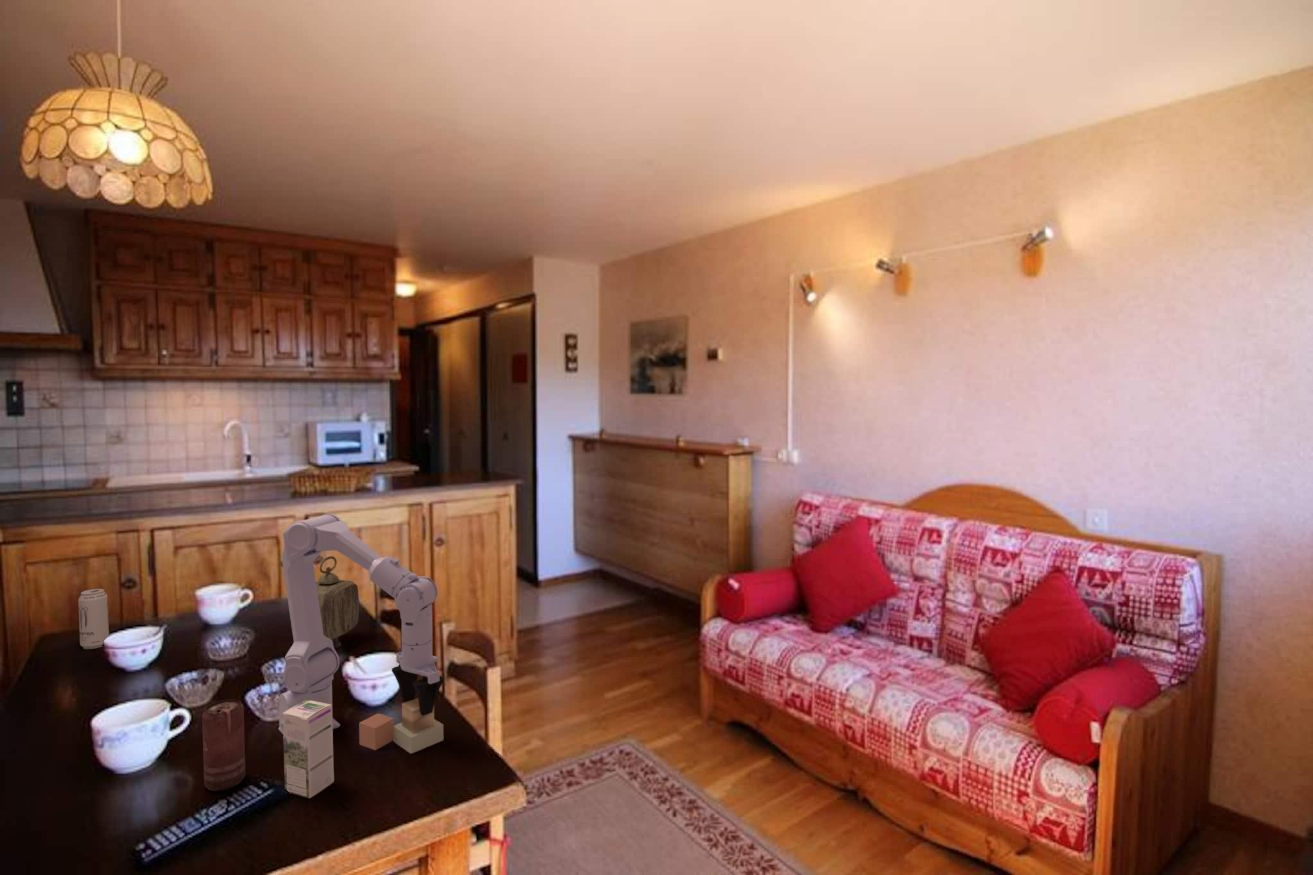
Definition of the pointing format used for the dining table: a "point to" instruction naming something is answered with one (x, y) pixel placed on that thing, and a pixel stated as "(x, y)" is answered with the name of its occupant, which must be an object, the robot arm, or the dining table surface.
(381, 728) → the terracotta cube
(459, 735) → the dining table surface
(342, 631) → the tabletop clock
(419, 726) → the maple cube
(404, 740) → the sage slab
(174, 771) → the dining table surface
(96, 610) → the energy drink can
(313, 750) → the syrup box
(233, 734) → the can
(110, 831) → the dining table surface
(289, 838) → the dining table surface
